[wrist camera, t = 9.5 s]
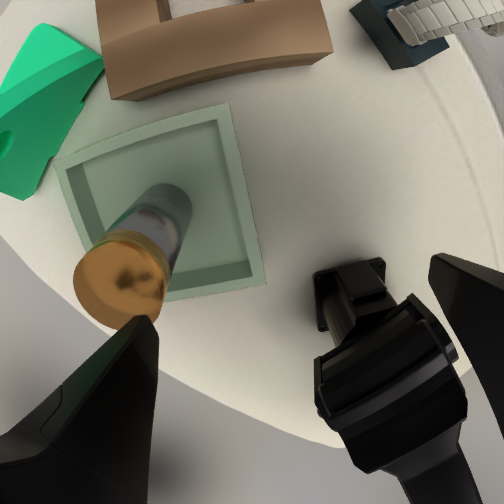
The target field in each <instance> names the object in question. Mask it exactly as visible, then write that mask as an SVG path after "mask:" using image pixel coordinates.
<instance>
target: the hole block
mask: <svg viewBox="0 0 504 504" xmlns="http://www.w3.org/2000/svg"><path fill="white" fill-rule="evenodd" d="M244 1H245V3H244V4H238V5H232V6H226V7H221V8H216V9H211V10H206V11H202V12H197V13H193V14H189V15H186V16H182V17H178V18H175V19H172V17H171V12H170V7H169V2H168V0H95V3H96V13H97V21H98V29H99V36H100V43H101V49H102V55H103V61H104V67H105V72H106V78H107V83H108V88H109V92H110V97H111V100H123V101H136V102H138V101H141V100H143V99H146V98H149V97H152V96H155V95H158V94H161V93H165V92H168V91H171V90H175V89H178V88H182V87H185V86H189V85H193V84H196V83H200V82H204V81H209V80H213V79H217V78H222V77H227V76H232V75H237V74H242V73H248V72H253V71H260V70H266V69H273V68H281V67H290V66H300V65H312V64H314V63H316V62H317V61H319V60H321V59H322V58H324V57H326V56H328V55H329V54H331V53H333V47H332V43H331V39H330V35H329V31H328V27H327V23H326V19H325V16H324V12H323V9H322V5H321V2H320V0H244Z"/></svg>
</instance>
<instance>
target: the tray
mask: <svg viewBox="0 0 504 504" xmlns="http://www.w3.org/2000/svg"><path fill="white" fill-rule="evenodd" d="M54 166H55V169H56V172H57V176H58V179H59V182H60V185H61V188H62V191H63V194H64V197H65V200H66V203H67V206H68V208H69V211H70V214H71V217H72V219H73V222H74V224H75V227H76V229H77V232H78V234H79V237H80V239H81V242H82V244H83V246H84V249H85V251H86V253H87V252H88V251H89V250H90V249H91V248H92V246H93V245H94V244H95V243H96V242H97V241H98V240H99V239H100V237H101V236H102V235H103V234H104V233H105V232H106V231H107V230H108V229H109V228H110V227H111V225H112V224H113V223H114V222H115V221H116V220H117V219H118V218H119V217H120V216H121V215H122V214H123V213H124V212H125V211H126V210H127V209H128V208H129V207H130V206H131V205H132V204H133V203H134V202H135V201H136V200H137V199H138V198H139V197H140V196H141V195H142V194H143V193H144V192H145V191H146V190H147V189H148V188H150V187H151V186H153V185H156V184H160V183H168V184H172V185H175V186H177V187H179V188H180V189H182V190H183V191H184V192H185V193H186V194H187V195H188V197H189V199H190V201H191V203H192V208H193V215H192V219H191V222H190V225H189V228H188V230H187V233H186V236H185V239H184V241H183V244H182V247H181V250H180V253H179V256H178V258H177V261H176V264H175V267H174V270H173V273H172V276H171V279H170V282H169V285H168V288H167V292H166V295H165V298H164V301H163V302H169V301H175V300H181V299H187V298H193V297H199V296H204V295H210V294H216V293H221V292H227V291H232V290H237V289H243V288H248V287H253V286H258V285H263V284H266V278H265V272H264V266H263V261H262V256H261V251H260V246H259V241H258V237H257V232H256V227H255V222H254V217H253V213H252V208H251V203H250V198H249V194H248V189H247V184H246V179H245V175H244V170H243V165H242V161H241V156H240V151H239V147H238V142H237V137H236V133H235V128H234V123H233V119H232V114H231V110H230V105H229V103H224V104H220V105H215V106H211V107H207V108H203V109H199V110H195V111H191V112H187V113H184V114H180V115H176V116H173V117H170V118H166V119H163V120H160V121H157V122H153V123H150V124H147V125H144V126H141V127H138V128H135V129H133V130H130V131H127V132H124V133H122V134H119V135H116V136H114V137H111V138H108V139H106V140H103V141H101V142H99V143H96V144H94V145H91V146H89V147H87V148H84V149H82V150H80V151H78V152H75V153H73V154H71V155H69V156H67V157H65V158H63V159H60V160H58V161H56V162H54Z"/></svg>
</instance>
